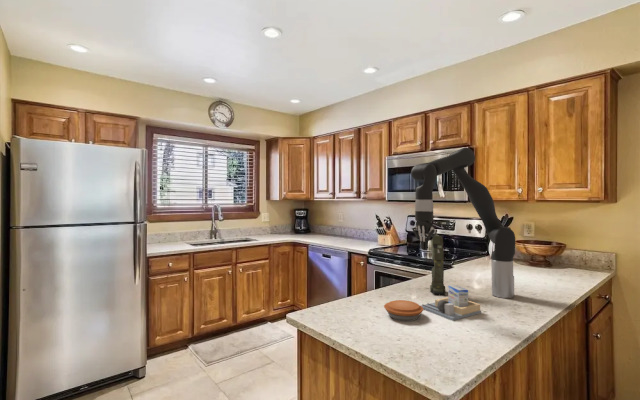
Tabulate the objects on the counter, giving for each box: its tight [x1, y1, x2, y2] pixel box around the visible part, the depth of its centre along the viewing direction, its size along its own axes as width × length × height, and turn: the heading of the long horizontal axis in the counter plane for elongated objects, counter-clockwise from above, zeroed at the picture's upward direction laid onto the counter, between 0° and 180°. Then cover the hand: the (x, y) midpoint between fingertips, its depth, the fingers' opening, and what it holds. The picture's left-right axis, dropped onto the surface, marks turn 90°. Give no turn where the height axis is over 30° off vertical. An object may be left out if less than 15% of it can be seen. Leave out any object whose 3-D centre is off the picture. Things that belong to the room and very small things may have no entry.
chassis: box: [420, 296, 482, 322], centre depth 138 cm, size 17×17×5 cm
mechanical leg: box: [429, 234, 446, 297], centre depth 166 cm, size 14×7×30 cm, turn 168°
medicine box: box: [447, 284, 469, 308], centre depth 138 cm, size 8×4×9 cm, turn 10°
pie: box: [383, 299, 424, 322], centre depth 133 cm, size 16×16×5 cm
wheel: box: [437, 300, 449, 312], centre depth 133 cm, size 4×3×4 cm, turn 118°
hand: (424, 249), depth 142 cm, fingers closed
